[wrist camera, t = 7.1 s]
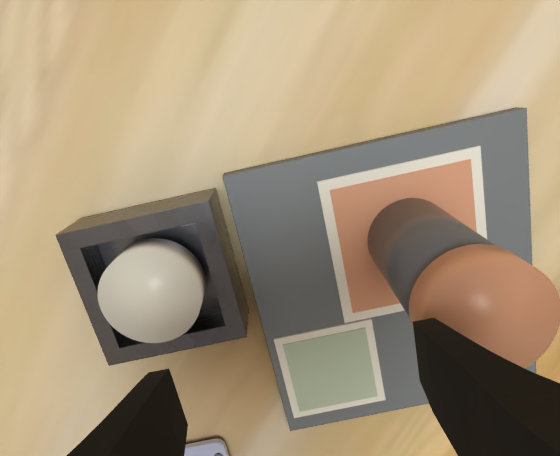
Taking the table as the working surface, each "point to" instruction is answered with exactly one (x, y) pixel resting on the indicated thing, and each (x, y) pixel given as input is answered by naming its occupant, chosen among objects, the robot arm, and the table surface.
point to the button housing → (171, 226)
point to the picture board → (365, 254)
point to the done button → (152, 291)
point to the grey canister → (464, 280)
